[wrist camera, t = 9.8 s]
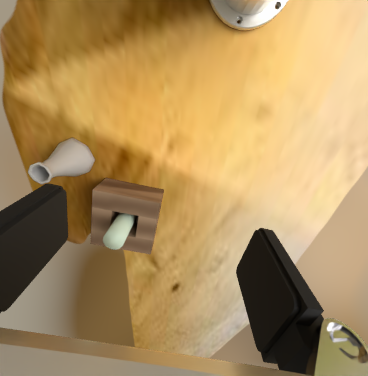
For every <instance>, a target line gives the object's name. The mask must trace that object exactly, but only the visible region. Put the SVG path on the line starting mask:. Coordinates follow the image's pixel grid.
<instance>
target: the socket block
mask: <svg viewBox="0 0 368 376" xmlns="http://www.w3.org/2000/svg"><path fill="white" fill-rule="evenodd" d="M163 192H164V190H162V189H158V188H153V187H148V186H143V185H138V184H133V183H128V182H123V181H118V180H113V179H109V178H105V179H104V180H103V181H102V182H101V183H100V184H99V185H97V186H96V187H95V188H94V189H93V194H92V220H91V244H94V245H100V246H105V244H104V243H103V237H104V235H105V234H106V232H107V231H108V229H109V228H110V226H111V225H112V223H113V222H114V220H115V219H116V217H117V216H118V214H119V213H120V212H121V213H126V214H131V215H137V217H136V219H135V221H134V223H133V226H132V228H131V230H130V232H129V234H128V236H127V238H126V240H125V242H124V244H123V246H122V247H121V248H120V249H123V250H129V251H134V252H140V253H146V254H151V250H152V246H153V242H154V237H155V233H156V228H157V223H158V218H159V212H160V207H161V202H162V197H163Z"/></svg>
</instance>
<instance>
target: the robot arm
mask: <svg viewBox="0 0 368 376" xmlns="http://www.w3.org/2000/svg"><path fill="white" fill-rule="evenodd" d="M209 1H210V3H211V6H212V8H213V10H214V11H215V13H216V14H217V16H218V17H219V18H220V19H221V20H222V21H223V22H224V23H225V24H227V25H228V26H230V27H232V28H235V29H237V30H253V29H256V28H259V27H262V26H263V25H265V24H267V23H268V22H270V21H271V20H272V19H273V18H274V17H275V16H276V15H277V14H278V13H279V12H280V11H281V10H282V9H283V7H284V6H285V5H286V3H287V2H288V0H209ZM275 7H276V8H277V9H275ZM237 21H239V22H240V24H238V23H237ZM67 238H68V222H67V198H66V191H65V190H63V188H62V187H61V186H58V185H53V184H45V185H43V186H41V187H40V188H38V189H36V190H35V191H33V192H31V193H30V194H28V195H26V196H25V197H23V198H21V199H20V200H19V201H17V202H15V203H13V204H12V205H10V206H8V207H6V208H5V209H3V210H1V211H0V313H1V311H6V310H7V309H8V308H9V307H10V306H11V305H12V304H13V303H14V301H15V300H16V299H17V298H18V297H19V296H20V295H21V293H22V292H23V291H24V290H25V289H26V287H27V286H28V285H29V284H30V283H31V281H32V280H33V279H34V278H35V277H36V276H37V275H38V274H39V272H40V271H41V270H42V269H43V268H44V266H45V265H46V264H47V263H48V262H49V261H50V259H51V258H52V257H53V256H54V255H55V254H56V253H57V251H58V250H59V249H60V248H61V247H62V245H63V244H64V243H65V242H66V240H67ZM236 274H237V278H238V281H239V285H240V289H241V292H242V296H243V300H244V304H245V307H246V311H247V315H248V318H249V322H250V326H251V329H252V333H253V337H254V340H255V344H256V347H257V349H258V351H260V352H261V355H262V358H263V361H264V362H267V363H274V364H278V367H279V370H277V369H271V368H265V367H260V366H254V365H247V364H240V363H234V362H227V361H221V360H215V359H209V358H202V357H196V356H189V355H183V354H176V353H170V352H163V351H156V350H150V349H143V348H136V347H130V346H122V345H116V344H109V343H103V342H95V341H89V340H82V339H75V338H69V337H62V336H55V335H48V334H40V333H34V332H27V331H20V330H13V329H5V328H0V376H368V346H367V345H366V343H365V342H364V341H363V339H362V338H361V337H360V336H359V335H358V334H357V333H356V332H355V331H353V330H352V329H351V328H350V327H349V326H347V325H346V324H344V323H342V322H341V321H338V320H336V319H334V318H326V319H324V318H323V317H322V315H321V313H322V312H323V311H324V310H323V309H322V307H321V306H320V304H319V302H318V301H317V299H316V298H315V296H314V295H313V293H312V292H311V290H310V289H309V287H308V285H307V283H306V282H305V280H304V279H303V277H302V276H301V274H300V272H299V271H298V269H297V268H296V266H295V265H294V263H293V261H292V260H291V258H290V257H289V255H288V254H287V252H286V250H285V249H284V247H283V246H282V244H281V243H280V241H279V239H278V238H277V236H276V235H275V233H274V232H273V231H272V230H268V229H264V228H260V229H258V230H256V231H255V232H254V234H253V236H252V238H251V240H250V242H249V244H248V246H247V248H246V250H245V252H244V254H243V256H242V258H241V260H240V262H239V264H238V266H237V270H236Z"/></svg>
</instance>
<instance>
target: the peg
mask: <svg viewBox="0 0 368 376" xmlns="http://www.w3.org/2000/svg"><path fill="white" fill-rule="evenodd" d="M136 217H137V215H131V214H126V213H121V212H120V213H119V214H118V216H117V217H116V219H115V220H114V222H113V223H112V225H111V226H110V228H109V229H108V231H107V232H106V234H105V235H104V237H103V243H104V244H105V246H106V247H108V248H110V249H114V250H115V249H120V248H121V247H122V246H123V244H124V242H125V240H126V238H127V236H128V234H129V232H130V230H131V228H132V226H133V223H134V221H135V219H136Z"/></svg>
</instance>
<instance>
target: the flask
mask: <svg viewBox="0 0 368 376" xmlns="http://www.w3.org/2000/svg"><path fill="white" fill-rule="evenodd" d="M94 161H95V159H94V157H93V155H92V153H91V152H90V150H89V148H88V146H87V145H85V144H83V143H81V142H80V141H78V140H76V139H75V138H70V139H68V140H65V141H63V142H61V143H59V144H58V146H57V147H56V149H55V150H54V152H53V153H52V154H51V155H50V157H49V158H48V159H47V160H45V161H44V162H43V163H41V162H38V163H35V164H32V165H30V168H29V170H28V173H29V175H30V176H31V178H32V179H33V180H34V181H36V182H38V183H40V184H44V183H47V182H49V181H51V178H53V177H56V176H79V175H82V174H85V173H87V172H90V170H91V168H92V166H93V163H94Z"/></svg>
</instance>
